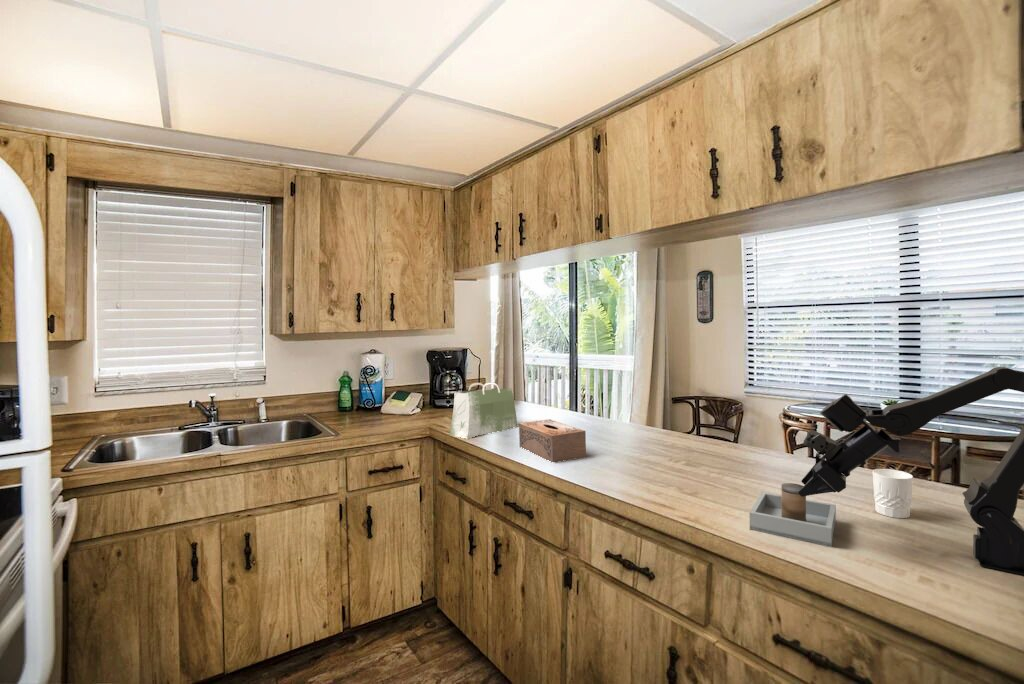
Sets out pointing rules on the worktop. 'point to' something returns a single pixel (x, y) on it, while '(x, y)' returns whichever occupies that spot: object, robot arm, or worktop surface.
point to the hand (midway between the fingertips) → (801, 488)
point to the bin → (813, 530)
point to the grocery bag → (482, 411)
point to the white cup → (892, 492)
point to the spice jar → (793, 502)
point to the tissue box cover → (552, 440)
